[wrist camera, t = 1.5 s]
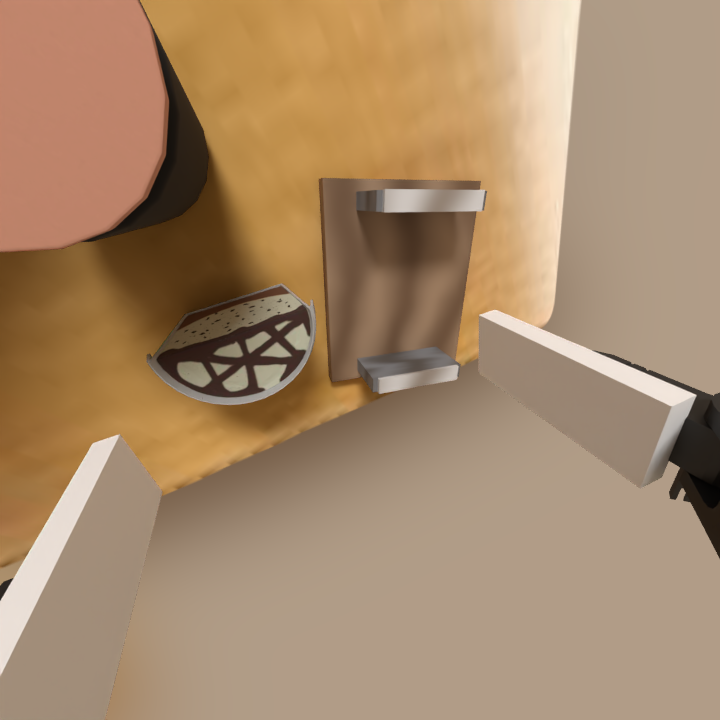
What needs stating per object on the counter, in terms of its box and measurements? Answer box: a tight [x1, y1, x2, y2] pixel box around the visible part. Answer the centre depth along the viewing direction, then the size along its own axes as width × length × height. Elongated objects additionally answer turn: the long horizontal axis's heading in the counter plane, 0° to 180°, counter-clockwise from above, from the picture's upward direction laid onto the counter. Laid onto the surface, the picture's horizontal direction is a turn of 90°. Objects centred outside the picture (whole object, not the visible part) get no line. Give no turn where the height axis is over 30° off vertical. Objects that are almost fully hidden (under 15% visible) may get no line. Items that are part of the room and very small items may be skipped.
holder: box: [319, 178, 487, 394], centre depth 32 cm, size 16×20×7 cm
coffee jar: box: [0, 0, 209, 252], centre depth 16 cm, size 11×11×18 cm
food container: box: [147, 284, 316, 405], centre depth 28 cm, size 12×6×10 cm, turn 104°
